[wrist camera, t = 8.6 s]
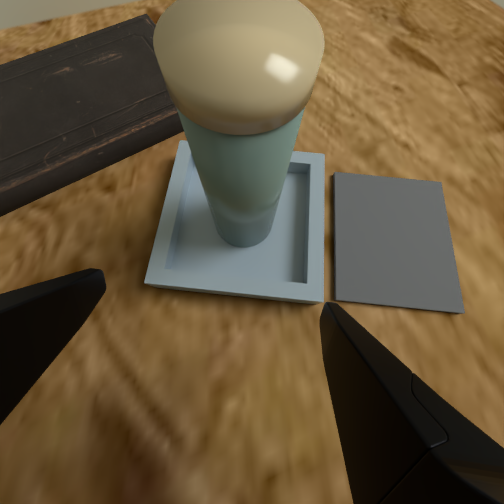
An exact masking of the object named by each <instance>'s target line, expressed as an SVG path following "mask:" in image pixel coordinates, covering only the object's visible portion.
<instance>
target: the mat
mask: <svg viewBox="0 0 504 504" xmlns="http://www.w3.org/2000/svg"><path fill="white" fill-rule="evenodd" d="M333 190H334V300H337V301H347V302H356V303H366V304H375V305H384V306H394V307H403V308H413V309H422V310H431V311H441V312H450V313H459V314H462V313H465V311H464V305H463V300H462V294H461V289H460V283H459V278H458V272H457V267H456V261H455V256H454V250H453V245H452V239H451V234H450V228H449V223H448V217H447V211H446V206H445V200H444V195H443V189H442V184H441V182H434V181H424V180H414V179H403V178H393V177H382V176H372V175H362V174H351V173H341V172H335V173H334V174H333Z"/></svg>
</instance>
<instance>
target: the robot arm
mask: <svg viewBox="0 0 504 504" xmlns="http://www.w3.org/2000/svg"><path fill="white" fill-rule="evenodd" d="M105 291H106V283H105V278H104V273H103V271H102V270H100V269H94V268H89V269H86V270H82V271H79V272H75V273H72V274H68V275H65V276H61V277H58V278H55V279H51V280H48V281H44V282H41V283H37V284H34V285H30V286H27V287H23V288H20V289H17V290H13V291H10V292H6V293H3V294H0V425H1V424H2V422H3V421H4V420H5V419H6V418H7V416H8V415H9V414H10V413H11V411H12V410H13V409H14V408H15V407H16V405H17V404H18V403H19V402H20V401H21V399H22V398H23V397H24V396H25V395H26V393H27V392H28V391H29V390H30V388H31V387H32V386H33V385H34V384H35V382H36V381H37V380H38V379H39V378H40V376H41V375H42V374H43V373H44V371H45V370H46V369H47V368H48V367H49V365H50V364H51V363H52V362H53V361H54V359H55V358H56V357H57V356H58V354H59V353H60V352H61V351H62V350H63V348H64V347H65V346H66V345H67V344H68V342H69V341H70V340H71V339H72V337H73V336H74V335H75V334H76V333H77V331H78V330H79V329H80V328H81V326H82V325H83V324H84V322H85V321H86V320H87V318H88V317H89V315H90V314H91V312H92V311H93V309H94V308H95V306H96V305H97V303H98V302H99V300H100V299H101V297H102V296H103V294H104V293H105ZM320 333H321V344H322V354H323V362H324V367H325V372H326V376H327V381H328V386H329V391H330V395H331V400H332V405H333V409H334V414H335V419H336V423H337V428H338V433H339V438H340V442H341V447H342V452H343V456H344V461H345V466H346V471H347V475H348V480H349V485H350V489H351V494H352V499H353V503H354V504H504V448H503V447H502V446H500V445H499V444H498V443H497V442H495V441H494V440H493V439H492V438H490V437H489V436H488V435H487V434H485V433H484V432H483V431H482V430H481V429H479V428H478V427H477V426H476V425H474V424H473V423H472V422H471V421H469V420H468V419H467V418H466V417H464V416H463V415H462V414H461V413H460V412H458V411H457V410H456V409H455V408H454V407H452V406H451V405H450V404H449V403H448V402H446V401H445V400H444V399H443V398H442V397H440V396H439V395H438V394H437V393H436V392H435V391H434V390H432V389H431V388H430V387H429V386H428V385H427V384H426V383H425V382H423V381H422V380H421V379H420V378H419V377H418V376H417V375H416V374H414V373H412V371H411V370H410V369H409V368H408V367H407V366H406V365H404V364H403V363H402V362H401V361H400V360H399V359H398V358H397V357H396V356H395V355H393V354H392V353H391V352H390V351H389V350H388V349H387V348H386V347H385V346H383V345H382V344H381V343H380V342H379V341H378V340H377V339H376V338H375V337H374V336H372V335H371V334H370V333H369V332H368V331H367V330H366V329H365V328H364V327H362V326H361V325H360V324H359V323H358V322H357V321H356V320H355V319H354V318H352V317H351V316H350V315H349V314H348V313H347V312H346V311H345V310H344V309H343V308H341V307H340V306H339V305H338V304H337V303H333V302H326V303H325V304H324V307H323V310H322V313H321V316H320Z"/></svg>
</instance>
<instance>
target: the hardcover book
mask: <svg viewBox="0 0 504 504" xmlns="http://www.w3.org/2000/svg"><path fill="white" fill-rule="evenodd" d="M155 27H156V25H155V24H154V22H153V21H152V20H151V19H150V17H149V16H148V15H147V14H144V15H141V16H138V17H135V18H133V19H130V20H127V21H124V22H121V23H118V24H116V25H113V26H110V27H107V28H104V29H101V30H98V31H96V32H93V33H90V34H87V35H84V36H81V37H79V38H76V39H73V40H70V41H67V42H64V43H61V44H59V45H56V46H53V47H50V48H47V49H44V50H42V51H39V52H36V53H33V54H30V55H27V56H25V57H22V58H19V59H16V60H13V61H10V62H7V63H5V64H2V65H0V217H1V216H3V215H5V214H7V213H9V212H11V211H13V210H16V209H18V208H20V207H22V206H24V205H26V204H28V203H31V202H33V201H35V200H37V199H39V198H41V197H43V196H46V195H48V194H50V193H52V192H54V191H56V190H58V189H61V188H63V187H65V186H67V185H69V184H71V183H73V182H76V181H78V180H80V179H82V178H84V177H86V176H88V175H91V174H93V173H95V172H97V171H99V170H101V169H103V168H106V167H108V166H110V165H112V164H114V163H116V162H118V161H121V160H123V159H125V158H127V157H129V156H131V155H133V154H136V153H138V152H140V151H142V150H144V149H146V148H148V147H151V146H153V145H155V144H157V143H159V142H161V141H164V140H166V139H168V138H170V137H172V136H174V135H176V134H179V133H181V132H183V131H184V129H183V126H182V123H181V120H180V117H179V114H178V111H177V108H176V106H175V104H174V103H173V101H172V100H171V97H170V95H169V93H168V90H167V87H166V84H165V81H164V78H163V75H162V72H161V69H160V66H159V63H158V60H157V57H156V54H155V51H154V46H153V35H154V30H155Z"/></svg>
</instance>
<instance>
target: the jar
mask: <svg viewBox="0 0 504 504" xmlns="http://www.w3.org/2000/svg"><path fill="white" fill-rule="evenodd" d="M153 46H154V51H155V54H156V57H157V60H158V63H159V66H160V69H161V72H162V75H163V78H164V81H165V84H166V87H167V90H168V93H169V95H170V97H171V100H172V101H173V103H174V104H175V106H176V108H177V111H178V114H179V117H180V120H181V123H182V126H183V129H184V132H185V135H186V138H187V141H188V144H189V147H190V150H191V154H192V157H193V160H194V163H195V166H196V169H197V172H198V175H199V178H200V181H201V184H202V187H203V190H204V193H205V196H206V199H207V202H208V206H209V209H210V212H211V215H212V218H213V221H214V224H215V227H216V230H217V232H218V234H219V235H220V237H221V238H222V239H223V240H224V241H226V242H227V243H229V244H230V245H233V246H236V247H252V246H255V245H257V244H259V243H261V242H262V241H264V240H265V239H266V238H267V236H268V235H269V233H270V231H271V229H272V225H273V222H274V218H275V214H276V211H277V207H278V203H279V200H280V196H281V193H282V189H283V185H284V182H285V178H286V174H287V171H288V167H289V163H290V160H291V156H292V152H293V149H294V145H295V141H296V138H297V134H298V130H299V127H300V123H301V119H302V116H303V112H304V109H305V106H306V104H307V103H308V101H309V99H310V97H311V94H312V90H313V87H314V83H315V80H316V76H317V73H318V70H319V66H320V63H321V59H322V55H323V51H324V35H323V32H322V29H321V26H320V24H319V22H318V20H317V19H316V18H315V16H314V15H313V13H312V12H311V11H310V10H309V9H308V8H307V7H305V6H304V5H303V4H302V3H300V2H299V1H297V0H177V1H176V2H174V3H173V4H172V5H171V6H169V7H168V8H167V9H166V10H165V12H164V13H163V14H162V15H161V17H160V19H159V20H158V22H157V24H156V27H155V30H154V35H153Z"/></svg>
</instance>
